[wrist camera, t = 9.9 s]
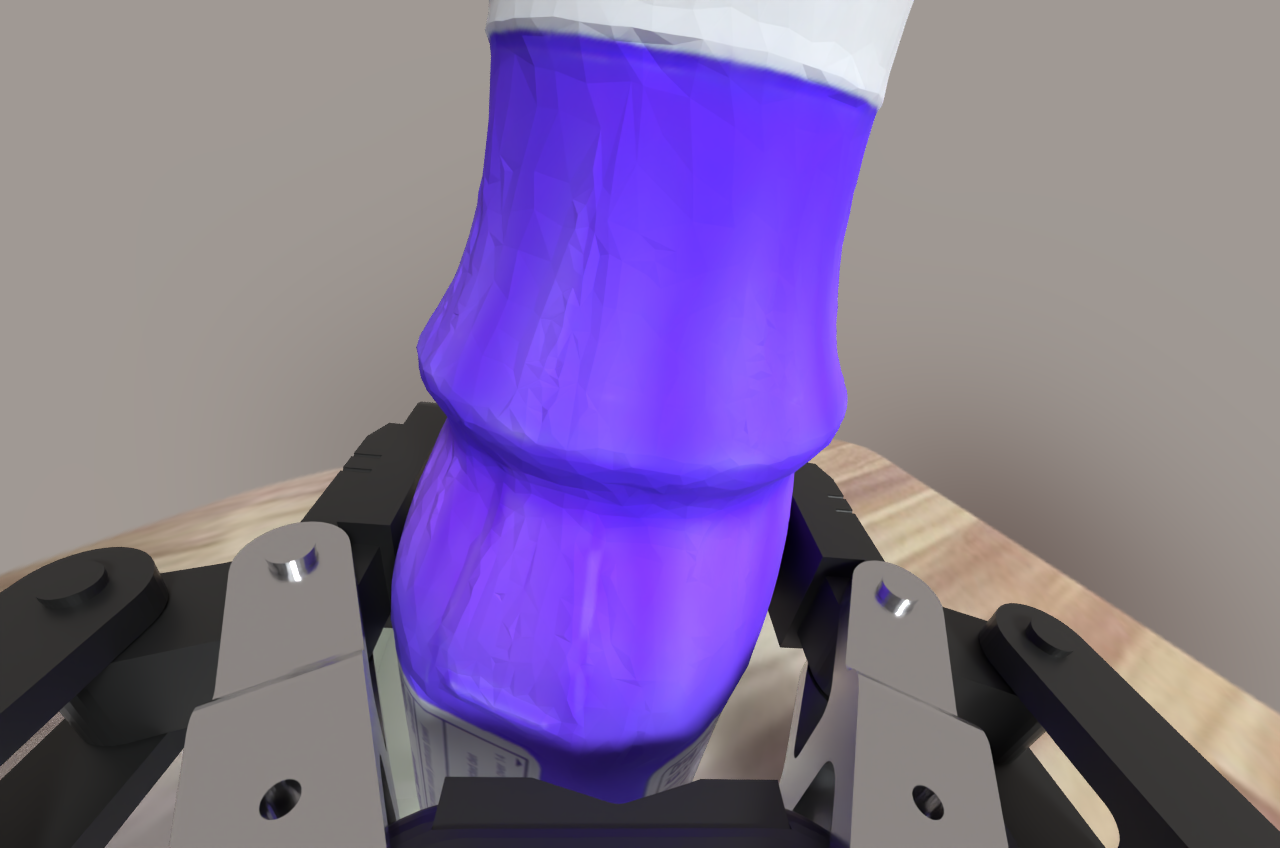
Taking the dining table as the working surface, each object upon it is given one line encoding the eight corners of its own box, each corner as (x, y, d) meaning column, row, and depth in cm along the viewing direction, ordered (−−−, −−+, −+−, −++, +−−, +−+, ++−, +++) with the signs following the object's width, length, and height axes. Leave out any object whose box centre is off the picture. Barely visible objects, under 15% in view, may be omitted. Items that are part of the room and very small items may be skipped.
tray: (314, 838, 19) (300, 808, 17) (395, 596, 28) (390, 566, 27) (605, 806, 21) (612, 778, 20) (590, 592, 30) (594, 564, 29)
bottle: (541, 642, 17) (588, -3, 8) (697, 708, 16) (948, 39, 7) (382, 906, 11) (-92, -466, 2) (616, 1046, 10) (1685, -722, 1)
